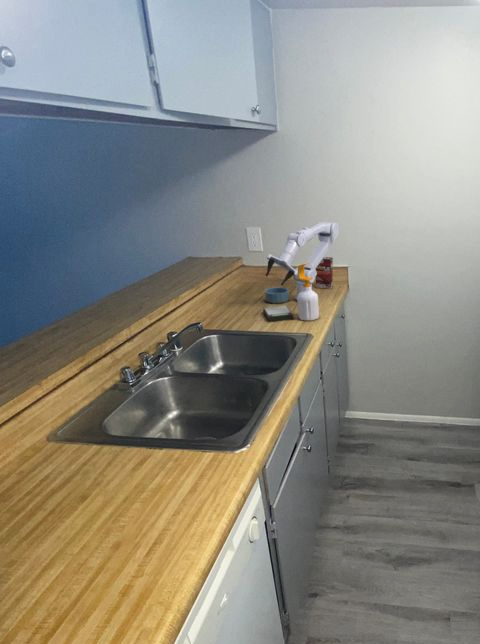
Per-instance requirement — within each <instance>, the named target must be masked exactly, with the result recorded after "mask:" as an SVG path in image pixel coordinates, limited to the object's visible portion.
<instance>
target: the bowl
mask: <svg viewBox="0 0 480 644" xmlns="http://www.w3.org/2000/svg"><path fill="white" fill-rule="evenodd" d="M264 296H265V301H266V302H268V303H270V304H283V303H286V302H288V301H289V300H290V290H289V289H288V288H287V287H269V288H267V289H265V290H264Z"/></svg>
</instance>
